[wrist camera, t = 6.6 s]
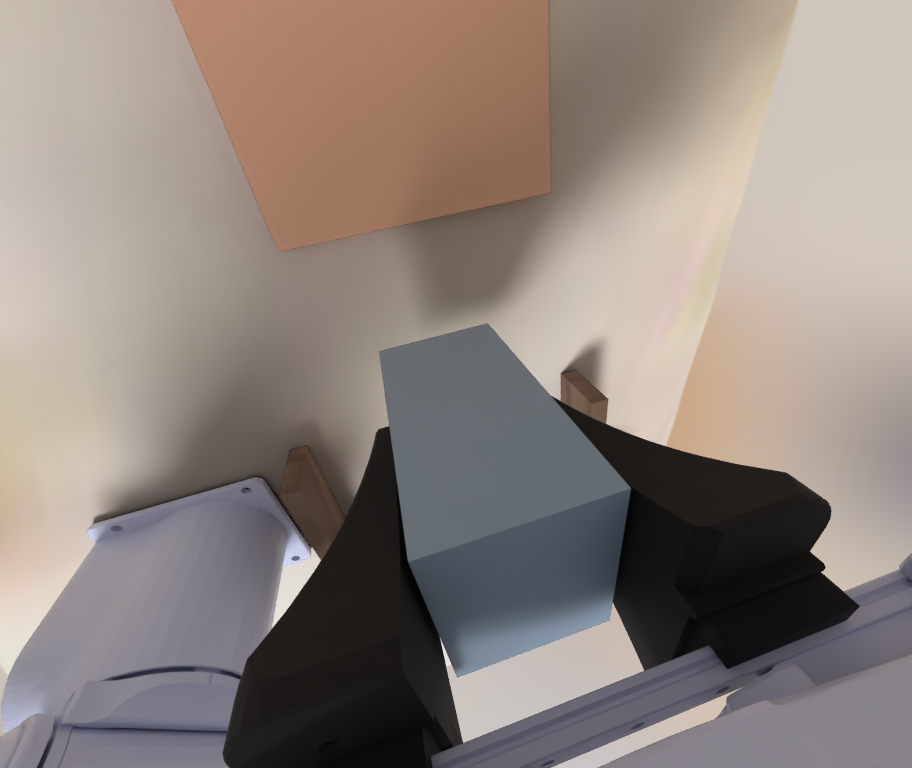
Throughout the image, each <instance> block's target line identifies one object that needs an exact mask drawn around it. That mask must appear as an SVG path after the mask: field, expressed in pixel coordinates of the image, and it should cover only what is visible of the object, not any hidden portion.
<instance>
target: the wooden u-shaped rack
mask: <svg viewBox="0 0 912 768" xmlns="http://www.w3.org/2000/svg"><path fill="white" fill-rule="evenodd" d="M561 402H563V403H565V404H567V405H568V406H570V407H572V408H574V409H576V410H578V411H580V412H582V413H584V414H586V415H588V416H590V417H592V418H594V419H596V420H598V421H600V422H603V423H605V424H606V418H607V407H608V398H606V397H605V396H604V395H603V394H602V393H601V392H600V391H599V390H598V389H596V388H595V387H594V386H593V385H592V384H591V383H590V382H589V381H588V380H586V379H585V378H584V377H583V376H582V375H581V374H580V373H579V372H578V371H576V370H572V371H569V372H565V373H562V374H561ZM279 497H280V499H281V500H282V502H283V503H284V505H285V507H286V508H287V510H288V511H289V513H290V514H291V516H292V517H293V519H294V520H295V522H296V523H297V525H298V526H299V528H300V529H301V531H302V532H303V534H304V535H305V537H306V538H307V540H308V541H309V543H310V544H311V546H312V547H313V549H314V550H315V552H316V553H317V555H318V556H319V558H320V559H321V560H322V559H323V557H324V555H325V554H326V552H327V550H328V548H329V547H330V545H331V543H332V542H333V540H334V538H335V537H336V535H337V533H338V531H339V529H340V527H341V525H342V524H343V522H344V520H345V516H344V514H343V512H342V510H341V508H340V506H339V504H338V503H337V501H336V499H335V497H334V495H333V493H332V491H331V489H330V488H329V486H328V484H327V482H326V480H325V478H324V476H323V474H322V473H321V471H320V469H319V467H318V465H317V463H316V461H315V459H314V458H313V456H312V454H311V452H310V450H309V448H308V446H303V447H300V448H296V449H293V450H290V451H289V455H288V460H287V464H286V468H285V473H284V477H283V481H282V486H281V490H280V495H279Z"/></svg>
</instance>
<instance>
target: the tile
mask: <svg viewBox="0 0 912 768" xmlns="http://www.w3.org/2000/svg"><path fill="white" fill-rule="evenodd" d="M172 2H173V5H174V7H175V10H176V12H177V14H178V17H179V19H180V21H181V24H182V26H183V28H184V31H185V33H186V36H187V38H188V40H189V43H190V45H191V47H192V50H193V52H194V54H195V57H196V59H197V62H198V64H199V66H200V69H201V71H202V73H203V76H204V78H205V81H206V83H207V85H208V88H209V90H210V92H211V95H212V97H213V99H214V102H215V104H216V107H217V109H218V111H219V114H220V116H221V118H222V121H223V123H224V125H225V128H226V130H227V133H228V135H229V137H230V140H231V142H232V144H233V147H234V149H235V151H236V154H237V156H238V159H239V161H240V163H241V166H242V168H243V170H244V173H245V175H246V177H247V180H248V182H249V185H250V187H251V189H252V192H253V194H254V196H255V199H256V201H257V204H258V206H259V208H260V211H261V213H262V215H263V218H264V220H265V222H266V225H267V227H268V230H269V232H270V234H271V237H272V239H273V241H274V244H275V246H276V248H277V251H278V252H281V251H286V250H290V249H295V248H299V247H304V246H309V245H313V244H318V243H322V242H327V241H331V240H336V239H341V238H345V237H350V236H354V235H359V234H364V233H368V232H373V231H377V230H382V229H387V228H391V227H396V226H400V225H405V224H410V223H414V222H419V221H423V220H428V219H433V218H437V217H442V216H446V215H451V214H456V213H460V212H465V211H469V210H474V209H479V208H483V207H488V206H492V205H497V204H502V203H506V202H511V201H515V200H520V199H525V198H529V197H534V196H538V195H543V194H548V193H551V158H550V87H549V17H548V0H172Z"/></svg>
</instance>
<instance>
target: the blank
mask: <svg viewBox="0 0 912 768" xmlns="http://www.w3.org/2000/svg"><path fill="white" fill-rule="evenodd" d="M379 354H380V362H381V369H382V376H383V383H384V391H385V398H386V405H387V412H388V420H389V427H390V434H391V442H392V449H393V456H394V463H395V471H396V478H397V485H398V492H399V500H400V507H401V514H402V522H403V529H404V536H405V543H406V551H407V558H408V563H409V565H410V568H411V570H412V572H413V575H414V577H415V579H416V582H417V584H418V587H419V589H420V591H421V594H422V596H423V598H424V601H425V603H426V605H427V608H428V610H429V612H430V615H431V617H432V619H433V622H434V624H435V626H436V629H437V631H438V633H439V636H440V638H441V640H442V643H443V645H444V647H445V650H446V652H447V655H448V657H449V659H450V662H451V664H452V666H453V669H454V671H455V673H456V676H457V677H460V676H463V675H465V674H468V673H471V672H474V671H476V670H479V669H482V668H484V667H487V666H490V665H492V664H495V663H497V662H500V661H503V660H505V659H508V658H511V657H514V656H516V655H519V654H522V653H524V652H527V651H530V650H532V649H535V648H537V647H540V646H543V645H545V644H548V643H551V642H553V641H556V640H559V639H561V638H564V637H567V636H569V635H572V634H575V633H577V632H580V631H583V630H585V629H588V628H591V627H593V626H596V625H599V624H601V623H604V622H607V621H609V620H610V616H611V609H612V603H613V597H614V591H615V585H616V578H617V572H618V566H619V560H620V554H621V547H622V541H623V535H624V529H625V523H626V516H627V510H628V504H629V498H630V492H631V488H630V487H629V485H628V484H627V483H626V482H625V481H624V480H623V479H622V477H621V476H620V475H619V474H618V473H617V472H616V470H615V469H614V468H613V467H612V466H611V465H610V464H609V462H608V461H607V460H606V459H605V458H604V457H603V455H602V454H601V453H600V452H599V451H598V450H597V449H596V447H595V446H594V445H593V444H592V443H591V442H590V441H589V439H588V438H587V437H586V436H585V435H584V434H583V432H582V431H581V430H580V429H579V428H578V427H577V426H576V424H575V423H574V422H573V421H572V420H571V419H570V418H569V416H568V415H567V414H566V413H565V412H564V411H563V409H562V408H561V407H560V406H559V405H558V404H557V403H556V401H555V400H554V399H553V398H552V397H551V396H550V394H549V393H548V392H547V391H546V390H545V389H544V388H543V386H542V385H541V384H540V383H539V382H538V381H537V380H536V378H535V377H534V376H533V375H532V374H531V373H530V371H529V370H528V369H527V368H526V367H525V366H524V365H523V363H522V362H521V361H520V360H519V359H518V358H517V357H516V355H515V354H514V353H513V352H512V351H511V350H510V348H509V347H508V346H507V345H506V344H505V343H504V342H503V340H502V339H501V338H500V337H499V336H498V335H497V333H496V332H495V331H494V330H493V329H492V328H491V327H490V325H489V324H488V323H487V324H483V325H479V326H475V327H472V328H468V329H464V330H460V331H456V332H452V333H448V334H444V335H440V336H437V337H433V338H429V339H425V340H421V341H417V342H413V343H409V344H406V345H402V346H398V347H394V348H390V349H386V350H382V351H379Z"/></svg>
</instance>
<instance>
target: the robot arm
mask: <svg viewBox="0 0 912 768" xmlns="http://www.w3.org/2000/svg"><path fill="white" fill-rule="evenodd" d="M551 397H552V396H551ZM552 398H553V399H554V400H555V401H556V403H557V404H558V405H559V406H560V407H561V408H562V409H563V411H564V412H565V413H566V414H567V415H568V416H569V418H570V419H571V420H572V421H573V422H574V423H575V424H576V426H577V427H578V428H579V429H580V430H581V431H582V432H583V434H584V435H585V436H586V437H587V438H588V439H589V441H590V442H591V443H592V444H593V445H594V446H595V447H596V449H597V450H598V451H599V452H600V453H601V454H602V455H603V457H604V458H605V459H606V460H607V461H608V462H609V464H610V465H611V466H612V467H613V468H614V469H615V470H616V472H617V473H618V474H619V475H620V476H621V477H622V479H623V480H624V481H625V482H626V483H627V484H628V485H629V487H630V488H631V492H630V498H629V504H628V510H627V516H626V523H625V529H624V535H623V541H622V547H621V554H620V560H619V566H618V572H617V578H616V585H615V591H614V597H613V603H614V605H615V608H616V610H617V612H618V614H619V616H620V618H621V620H622V622H623V624H624V627H625V629H626V631H627V633H628V635H629V637H630V640H631V642H632V644H633V646H634V648H635V651H636V653H637V655H638V657H639V659H640V662H641V664H642V666H643V668H644V671H643V672H640V673H638V674H636V675H633V676H631V677H628V678H625V679H623V680H621V681H618V682H615V683H613V684H610V685H608V686H605V687H603V688H600V689H598V690H595V691H593V692H590V693H588V694H585V695H583V696H580V697H578V698H575V699H573V700H570V701H568V702H565V703H563V704H560V705H558V706H555V707H553V708H550V709H548V710H545V711H543V712H540V713H538V714H535V715H533V716H530V717H528V718H525V719H523V720H520V721H518V722H516V723H513V724H510V725H508V726H505V727H503V728H500V729H498V730H495V731H493V732H490V733H488V734H485V735H483V736H480V737H478V738H475V739H473V740H470V741H467V742H465V743H463V741H462V737H461V732H460V728H459V723H458V719H457V714H456V710H455V706H454V701H453V696H452V692H451V687H450V683H449V678H448V674H447V669H446V664H445V659H444V655H443V650H442V645H441V641H440V636H439V633H438V631H437V629H436V626H435V624H434V622H433V619H432V617H431V615H430V612H429V610H428V608H427V605H426V603H425V601H424V598H423V596H422V594H421V591H420V589H419V587H418V584H417V582H416V579H415V577H414V575H413V572H412V570H411V568H410V565H409V563H408V558H407V551H406V543H405V536H404V529H403V522H402V514H401V507H400V500H399V492H398V485H397V478H396V471H395V463H394V456H393V449H392V442H391V434H390V427H385V428H382V429H379V430H378V431H377V432H376V436H375V441H374V445H373V448H372V452H371V455H370V459H369V462H368V465H367V467H366V470H365V473H364V476H363V479H362V481H361V484H360V486H359V489H358V491H357V493H356V496H355V498H354V500H353V503H352V505H351V507H350V509H349V511H348V514H347V516H346V518H345V520H344V522H343V524H342V525H341V527H340V529H339V531H338V533H337V535H336V537H335V538H334V540H333V542H332V543H331V545H330V547H329V548H328V550H327V552H326V554H325V555H324V557H323V559H322V560H321V562H320V563H319V565H318V566H317V568H316V570H315V571H314V573H313V574H312V575H311V577H310V578H309V580H308V581H307V583H306V584H305V585H304V587H303V588H302V590H301V591H300V593H299V594H298V595H297V597H296V598H295V600H294V601H293V603H292V604H291V605H290V607H289V608H288V609H287V611H286V612H285V613H284V615H283V616H282V617H281V618H280V620H279V621H278V622H277V623H276V624H275V626H274V627H273V628H272V623H273V617H274V612H275V606H276V600H277V595H278V589H279V584H280V578H281V573H282V567H284V566H287V565H290V564H294V563H297V562H300V561H303V560H306V559H308V558H309V557H310V556H311V549H310V547H309V546H308V544H307V543H306V541H305V540H304V538H303V537H302V535H301V534H300V532H299V531H298V529H297V528H296V526H295V525H294V523H293V522H292V520H291V519H290V517H289V516H288V515H287V513H286V512H285V510H284V509H283V507H282V506H281V504H280V503H279V501H278V500H277V498H276V497H275V495H274V494H273V492H272V491H271V489H270V488H269V486H268V485H267V483H266V482H265V481H264V480H263V479H261V478H251V479H247V480H244V481H240V482H237V483H233V484H230V485H227V486H223V487H220V488H216V489H213V490H209V491H206V492H202V493H199V494H195V495H192V496H188V497H185V498H181V499H178V500H174V501H171V502H168V503H164V504H161V505H157V506H154V507H150V508H147V509H143V510H140V511H136V512H133V513H129V514H126V515H122V516H119V517H115V518H112V519H109V520H105V521H102V522H98V523H95V524H92V525H91V526H90V527H89V529H88V530H87V531H86V534H87V536H88V537H89V538H90V539H92V540H93V541H94V542H95V543H96V544H95V545H94V546H93V548H92V549H91V551H90V552H89V554H88V555H87V557H86V558H85V559H84V561H83V562H82V564H81V565H80V567H79V568H78V570H77V571H76V572H75V574H74V575H73V577H72V578H71V580H70V581H69V583H68V584H67V585H66V587H65V588H64V590H63V591H62V593H61V594H60V596H59V597H58V598H57V600H56V601H55V603H54V604H53V606H52V607H51V609H50V610H49V612H48V613H47V614H46V616H45V617H44V619H43V620H42V622H41V623H40V625H39V626H38V627H37V629H36V630H35V632H34V633H33V635H32V636H31V638H30V639H29V640H28V642H27V643H26V645H25V646H24V648H23V649H22V651H21V652H20V654H19V656H18V657H17V659H16V661H15V663H14V665H13V667H12V669H11V672H10V674H9V676H8V679H7V683H6V686H5V689H4V693H3V698H2V705H1V724H2V728H3V731H4V734H3V735H2V736H0V768H551V767H553V766H556V765H558V764H560V763H563V762H565V761H568V760H570V759H572V758H575V757H577V756H579V755H582V754H584V753H587V752H589V751H591V750H593V749H596V748H599V747H601V746H603V745H606V744H608V743H610V742H613V741H615V740H618V739H620V738H622V737H625V736H627V735H630V734H632V733H634V732H637V731H639V730H641V729H644V728H646V727H648V726H651V725H653V724H656V723H658V722H660V721H663V720H665V719H668V718H670V717H672V716H675V715H677V714H679V713H682V712H684V711H686V710H689V709H691V708H694V707H696V706H699V705H701V704H703V703H706V702H708V701H711V700H713V699H715V698H717V697H720V696H722V695H725V694H727V693H729V692H732V691H734V690H737V689H739V688H741V689H739V690H738V691H736V692H734V693H732V694H731V695H729V696H728V697H727V700H726V706H725V707H724V709H723V710H722V712H721V713H720V715H719V716H718V717H716V718H715V719H714V720H711V721H709V722H706V723H703V724H700V725H698V726H695V727H693V728H690V729H687V730H685V731H682V732H680V733H677V734H675V735H672V736H670V737H667V738H665V739H662V740H660V741H657V742H655V743H653V744H650V745H648V746H646V747H643V748H641V749H639V750H636V751H634V752H632V753H629V754H627V755H625V756H622V757H620V758H618V759H616V760H614V761H611V762H609V763H607V764H605V765H603V766H601V767H599V768H912V553H911V554H910V555H909V556H908V557H907V558H906V559H905V560H904V561H903V562H902V564H901V565H900V566H899V570H896V571H894V572H891V573H889V574H886V575H884V576H881V577H879V578H876V579H874V580H871V581H869V582H867V583H864V584H861V585H859V586H856V587H854V588H851V589H849V590H846V591H844V592H843V591H842V590H841V589H840V588H839V587H837V586H836V585H835V584H834V583H833V582H832V581H830V580H829V579H828V578H827V577H826V576H825V575H823V574H822V573H821V572H822V571H824V569H825V565H824V563H823V562H822V561H820V560H819V559H818V558H817V557H815V556H814V555H813V554H812V553H811V552H810V550H811V549H812V547H813V546H814V544H815V543H816V541H817V540H818V538H819V537H820V535H821V534H822V532H823V531H824V529H825V528H826V526H827V524H828V522H829V520H830V516H831V507H830V505H829V503H828V502H827V501H826V500H825V499H823V498H822V497H821V496H819V495H818V494H816V493H815V492H813V491H812V490H811V489H809V488H808V487H806V486H805V485H803V484H802V483H800V482H799V481H798V480H796V479H795V478H793V477H792V476H790V475H789V474H787V473H785V472H779V471H774V470H768V469H762V468H756V467H751V466H744V465H738V464H734V463H729V462H724V461H720V460H716V459H711V458H707V457H702V456H699V455H695V454H691V453H687V452H683V451H680V450H676V449H673V448H670V447H666V446H663V445H660V444H657V443H654V442H650V441H647V440H645V439H642V438H639V437H637V436H634V435H631V434H629V433H626V432H623V431H621V430H618V429H616V428H614V427H611V426H609V425H607V424H605V423H603V422H600V421H598V420H596V419H594V418H592V417H590V416H588V415H586V414H584V413H582V412H580V411H578V410H576V409H574V408H572V407H570V406H568V405H567V404H565V403H563V402H561V401H559V400H558V399H556V398H554V397H552ZM246 487H247V488H250V489H245V488H246ZM271 628H272V629H271Z"/></svg>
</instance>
